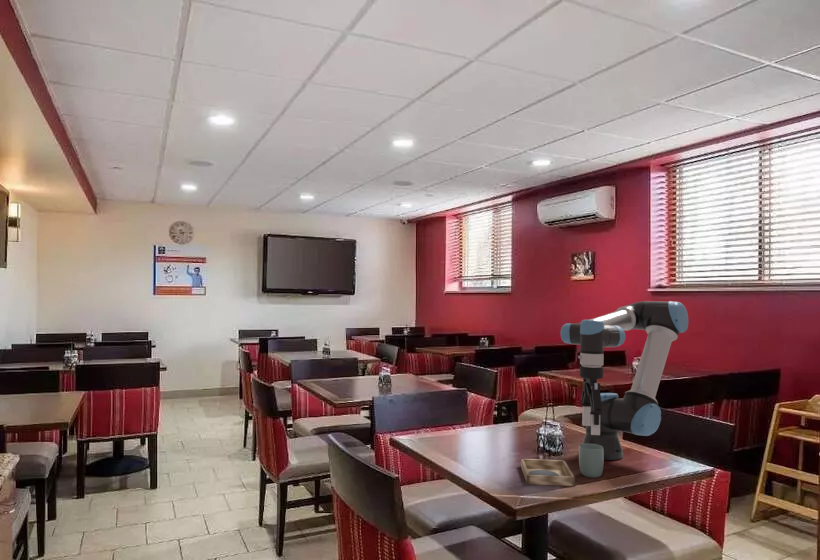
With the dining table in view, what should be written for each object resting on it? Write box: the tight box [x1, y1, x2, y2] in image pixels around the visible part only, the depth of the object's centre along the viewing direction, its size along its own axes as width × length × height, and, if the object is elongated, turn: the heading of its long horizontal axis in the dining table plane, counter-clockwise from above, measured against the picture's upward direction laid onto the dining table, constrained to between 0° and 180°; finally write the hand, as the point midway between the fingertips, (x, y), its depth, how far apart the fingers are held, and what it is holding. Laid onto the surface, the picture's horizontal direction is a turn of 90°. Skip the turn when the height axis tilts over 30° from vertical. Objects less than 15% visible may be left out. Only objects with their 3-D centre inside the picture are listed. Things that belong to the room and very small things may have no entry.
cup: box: [578, 443, 604, 478], centre depth 191 cm, size 8×8×10 cm
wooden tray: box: [520, 458, 576, 487], centre depth 189 cm, size 15×19×3 cm
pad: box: [528, 470, 559, 476], centre depth 189 cm, size 10×10×1 cm
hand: (590, 430), depth 191 cm, fingers open, 13 cm apart
